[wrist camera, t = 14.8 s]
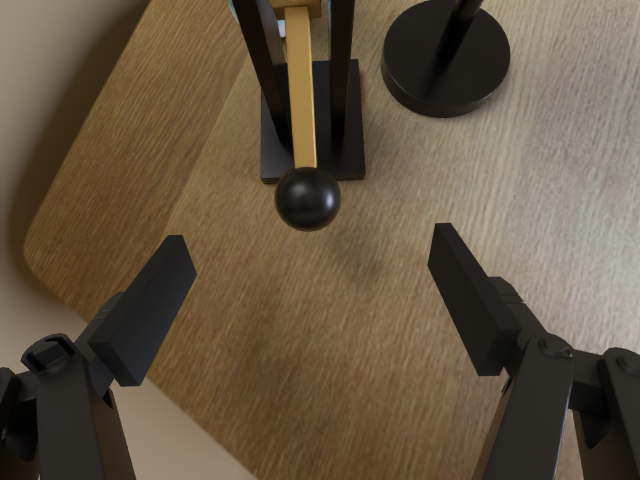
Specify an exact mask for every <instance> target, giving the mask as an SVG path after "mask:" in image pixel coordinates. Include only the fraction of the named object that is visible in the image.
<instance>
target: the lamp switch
mask: <svg viewBox="0 0 640 480" xmlns="http://www.w3.org/2000/svg"><path fill="white" fill-rule="evenodd" d="M269 2H270V5H271V7H272V10H273V12H274V15H275V17H276V19H277V20H278V21H280V20H284V22H285V36H286V50H287V64H288V78H289V92H290V106H291V120H292V135H293V149H294V163H295V167H294V168H292V169H290V170H288V171H287V172H286V173H285V174H284V175H283V176H282V177H281V179H280V180H279V182H278V184H277V186H276V189H275V195H274V201H275V206H276V210H277V212H278V214H279V216H280V217H281V219H282V220H283V221H284V222H285V223H286V224H287V225H289V226H290V227H292V228H294V229H296V230H299V231H304V232H312V231H317V230H320V229H322V228H324V227H326V226H327V225H329V224H330V223H331V222H332V221H333V220H334V218H335V217H336V215H337V214H338V212H339V209H340V205H341V191H340V188H339V185H338V183H337V181H336V179H335V178H334V177H333V176H332V175H331V173H329V172H328V171H327V170H325V169H324V168H322V167H319V166H317V160H316V140H315V119H314V99H313V78H312V57H311V37H310V19H312V18H321V0H269Z"/></svg>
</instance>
